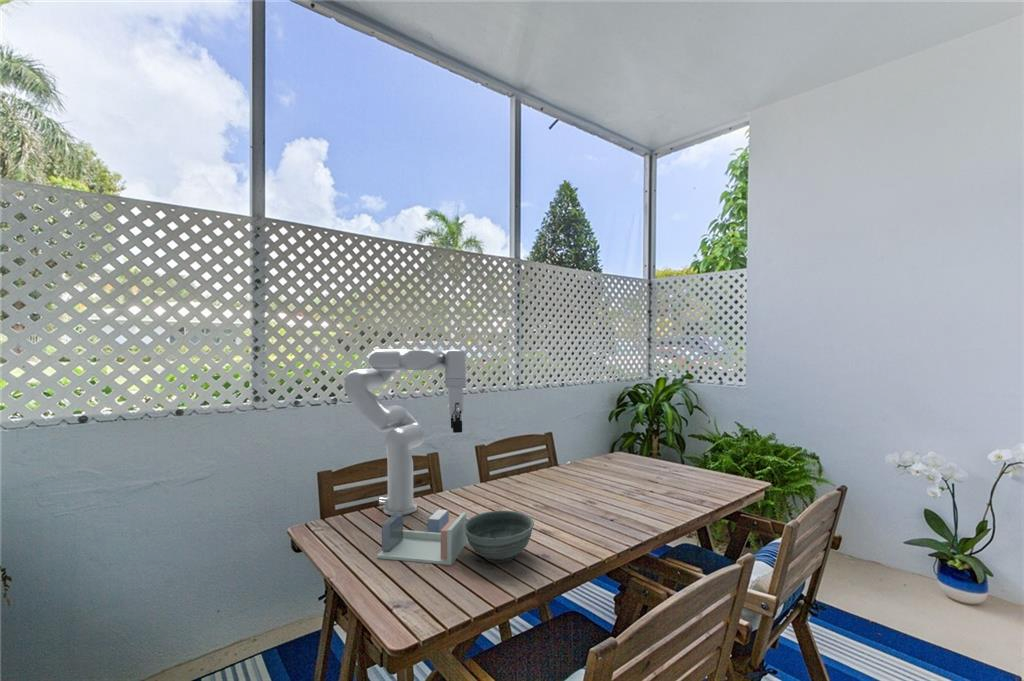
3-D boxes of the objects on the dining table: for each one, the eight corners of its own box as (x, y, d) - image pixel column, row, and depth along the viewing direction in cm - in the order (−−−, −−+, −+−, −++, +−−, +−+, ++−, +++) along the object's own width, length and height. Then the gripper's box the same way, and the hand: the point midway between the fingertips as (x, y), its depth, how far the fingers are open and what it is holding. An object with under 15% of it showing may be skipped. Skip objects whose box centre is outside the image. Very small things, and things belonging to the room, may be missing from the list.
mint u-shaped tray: (376, 558, 130) (376, 524, 130) (398, 538, 143) (398, 507, 144) (451, 565, 125) (451, 530, 125) (466, 544, 139) (466, 512, 139)
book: (427, 537, 144) (427, 518, 144) (437, 527, 153) (437, 509, 153) (439, 538, 143) (439, 519, 143) (448, 527, 152) (448, 510, 152)
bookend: (381, 550, 132) (381, 523, 132) (395, 538, 141) (395, 512, 141) (389, 551, 132) (389, 524, 132) (402, 538, 140) (402, 513, 141)
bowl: (544, 567, 123) (544, 531, 124) (471, 578, 117) (470, 540, 118) (522, 537, 143) (521, 506, 144) (458, 546, 137) (457, 513, 138)
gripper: (443, 382, 169) (444, 427, 169) (446, 385, 152) (447, 434, 152) (463, 381, 171) (464, 426, 170) (468, 384, 154) (469, 433, 153)
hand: (456, 430), depth 161 cm, fingers open, 9 cm apart
